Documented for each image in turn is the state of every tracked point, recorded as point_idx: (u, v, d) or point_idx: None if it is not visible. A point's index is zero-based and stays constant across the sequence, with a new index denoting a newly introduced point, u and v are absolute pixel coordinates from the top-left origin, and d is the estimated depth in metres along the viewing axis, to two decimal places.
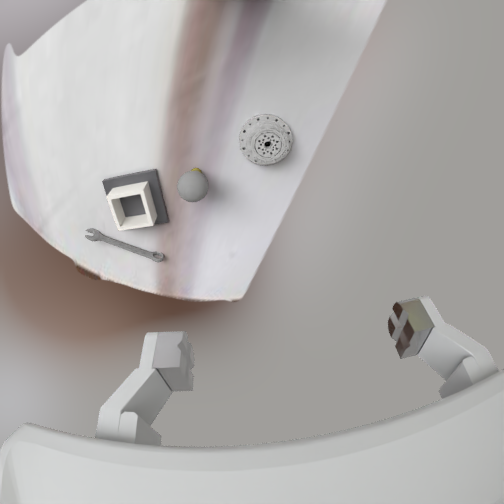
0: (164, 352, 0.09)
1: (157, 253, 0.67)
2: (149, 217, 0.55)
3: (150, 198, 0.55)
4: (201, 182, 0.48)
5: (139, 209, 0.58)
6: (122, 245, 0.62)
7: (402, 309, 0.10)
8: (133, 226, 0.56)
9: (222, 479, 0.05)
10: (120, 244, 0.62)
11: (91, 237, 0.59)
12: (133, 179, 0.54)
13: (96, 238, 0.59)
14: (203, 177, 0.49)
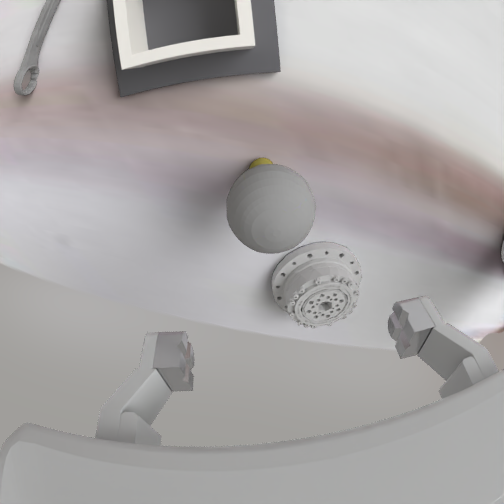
0: (164, 352, 0.09)
1: (34, 75, 0.16)
2: (151, 56, 0.14)
3: None
4: None
5: (162, 18, 0.15)
6: None
7: (402, 309, 0.10)
8: (121, 7, 0.11)
9: (222, 479, 0.05)
10: None
11: None
12: (261, 10, 0.15)
13: None
14: None
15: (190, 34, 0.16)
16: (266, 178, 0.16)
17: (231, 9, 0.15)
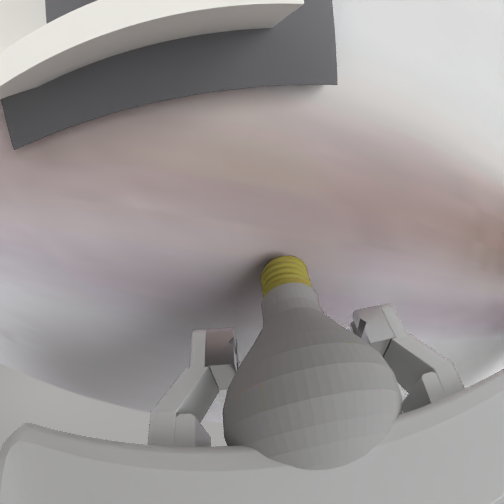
0: (216, 349, 0.09)
1: None
2: (2, 70, 0.03)
3: (156, 37, 0.06)
4: None
5: None
6: None
7: (360, 318, 0.10)
8: None
9: (222, 479, 0.05)
10: None
11: None
12: None
13: None
14: None
15: None
16: (321, 422, 0.05)
17: None
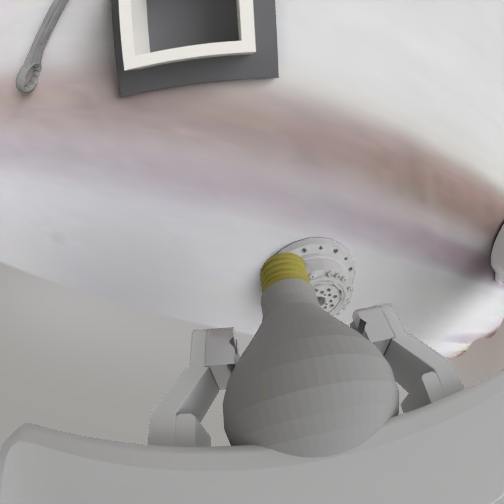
0: (216, 349, 0.09)
1: (36, 72, 0.16)
2: (153, 59, 0.14)
3: None
4: None
5: (165, 21, 0.15)
6: None
7: (360, 318, 0.10)
8: (126, 9, 0.11)
9: (222, 479, 0.05)
10: None
11: None
12: (262, 17, 0.16)
13: None
14: None
15: (192, 37, 0.16)
16: (319, 411, 0.06)
17: (233, 14, 0.15)
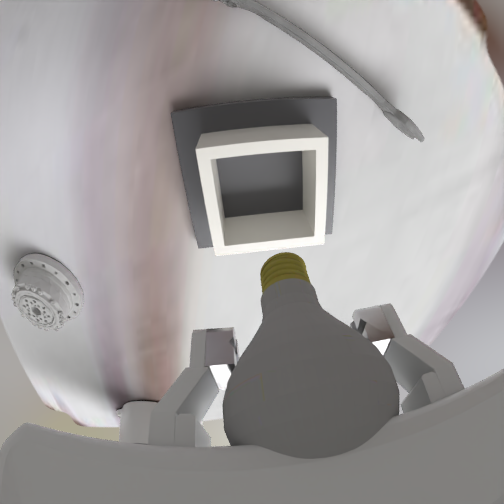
0: (216, 349, 0.09)
1: (225, 0, 0.14)
2: (205, 178, 0.18)
3: None
4: None
5: (252, 154, 0.21)
6: (330, 61, 0.16)
7: (360, 318, 0.10)
8: (268, 148, 0.17)
9: (222, 479, 0.05)
10: (335, 65, 0.17)
11: (409, 130, 0.18)
12: None
13: (397, 118, 0.18)
14: None
15: (231, 179, 0.22)
16: (319, 411, 0.06)
17: (255, 211, 0.24)
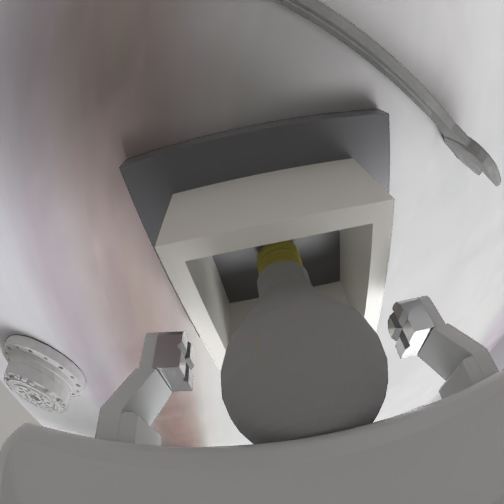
0: (164, 352, 0.09)
1: None
2: (183, 288, 0.10)
3: None
4: None
5: None
6: (372, 56, 0.09)
7: (402, 309, 0.10)
8: (287, 232, 0.09)
9: (222, 479, 0.05)
10: (381, 65, 0.09)
11: (485, 171, 0.10)
12: None
13: (471, 153, 0.10)
14: None
15: (232, 255, 0.15)
16: (309, 367, 0.07)
17: None
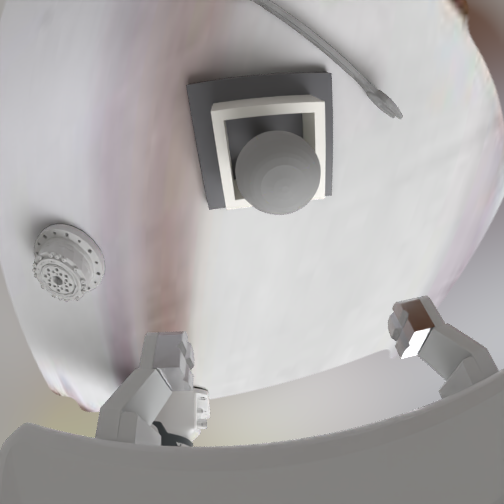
0: (164, 352, 0.09)
1: None
2: (219, 136, 0.20)
3: None
4: (299, 209, 0.18)
5: (258, 121, 0.23)
6: (319, 45, 0.18)
7: (402, 309, 0.10)
8: (273, 110, 0.19)
9: (222, 479, 0.05)
10: (324, 50, 0.19)
11: (388, 107, 0.20)
12: None
13: (378, 97, 0.20)
14: None
15: (240, 144, 0.24)
16: (279, 139, 0.16)
17: None
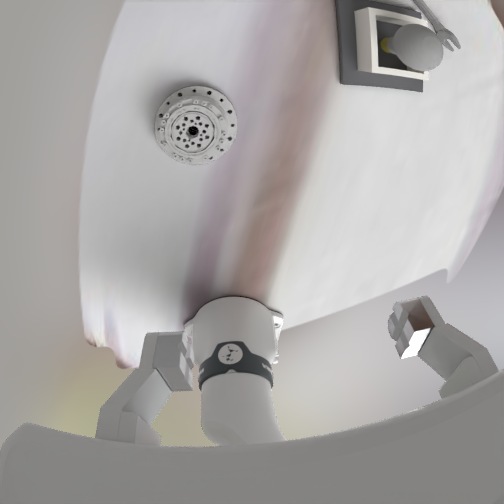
0: (164, 352, 0.09)
1: None
2: (372, 23, 0.22)
3: (361, 47, 0.25)
4: (434, 66, 0.20)
5: (381, 30, 0.25)
6: None
7: (402, 309, 0.10)
8: (402, 17, 0.21)
9: (222, 479, 0.05)
10: None
11: (452, 40, 0.23)
12: (379, 79, 0.29)
13: (446, 33, 0.22)
14: (429, 69, 0.22)
15: None
16: (424, 26, 0.18)
17: (381, 65, 0.28)
